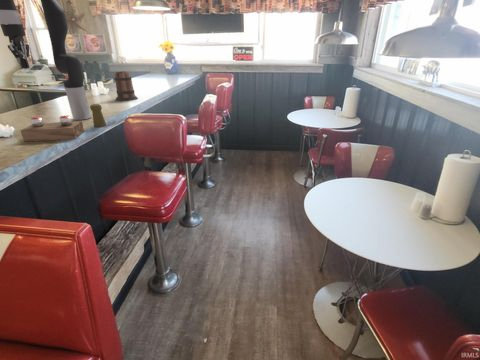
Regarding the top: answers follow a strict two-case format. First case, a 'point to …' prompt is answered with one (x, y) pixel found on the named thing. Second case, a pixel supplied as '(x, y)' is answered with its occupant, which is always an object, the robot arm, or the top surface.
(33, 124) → the knob
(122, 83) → the tankard
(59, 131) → the console
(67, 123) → the knob
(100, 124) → the cork
